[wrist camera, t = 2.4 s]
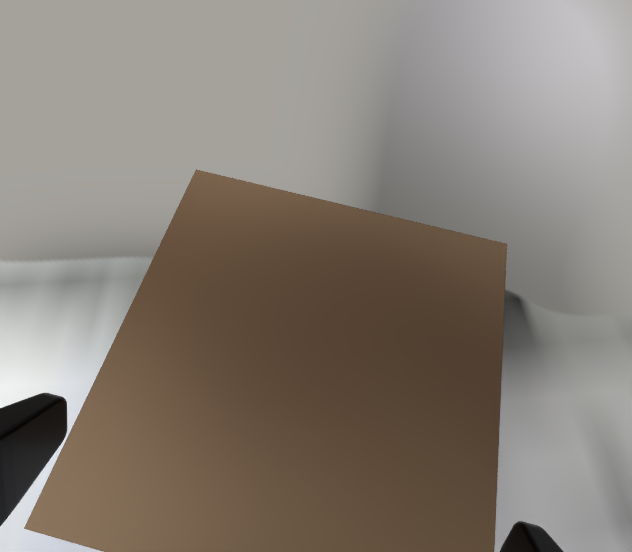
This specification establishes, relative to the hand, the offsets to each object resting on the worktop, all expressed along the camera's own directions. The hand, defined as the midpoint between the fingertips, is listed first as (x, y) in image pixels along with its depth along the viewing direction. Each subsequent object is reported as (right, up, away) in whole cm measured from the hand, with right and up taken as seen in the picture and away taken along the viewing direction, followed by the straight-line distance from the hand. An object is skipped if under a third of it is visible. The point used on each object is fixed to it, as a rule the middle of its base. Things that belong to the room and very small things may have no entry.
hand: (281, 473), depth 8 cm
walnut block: (0, -2, +9) cm, 9 cm away
